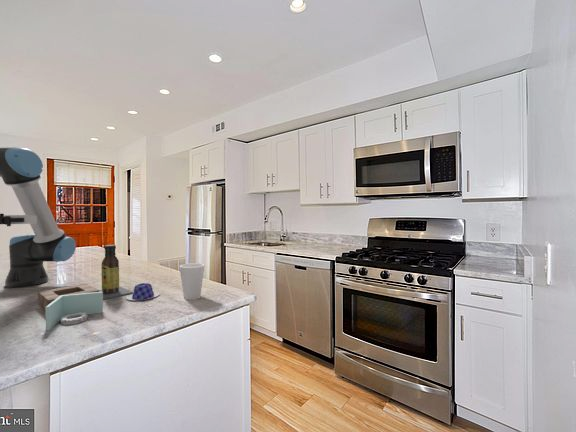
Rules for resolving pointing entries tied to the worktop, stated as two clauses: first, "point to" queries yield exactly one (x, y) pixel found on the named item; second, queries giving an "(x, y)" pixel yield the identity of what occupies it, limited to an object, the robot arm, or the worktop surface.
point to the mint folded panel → (73, 308)
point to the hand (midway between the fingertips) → (32, 219)
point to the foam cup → (192, 280)
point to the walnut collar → (62, 293)
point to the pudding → (142, 292)
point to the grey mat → (116, 293)
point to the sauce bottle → (110, 270)
